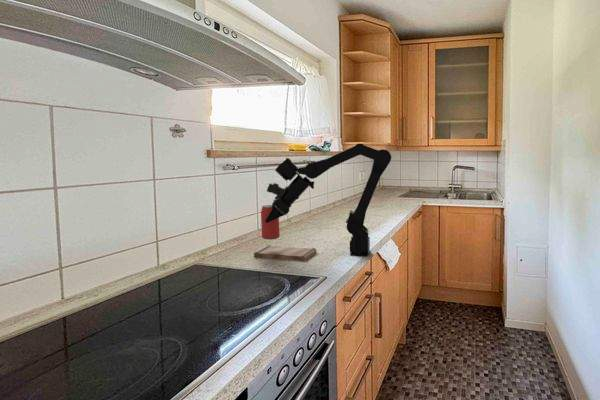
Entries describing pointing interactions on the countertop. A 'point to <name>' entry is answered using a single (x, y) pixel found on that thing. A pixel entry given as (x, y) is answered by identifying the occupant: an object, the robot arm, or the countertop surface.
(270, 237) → the beer can
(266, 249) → the walnut board
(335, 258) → the countertop surface
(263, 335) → the countertop surface
